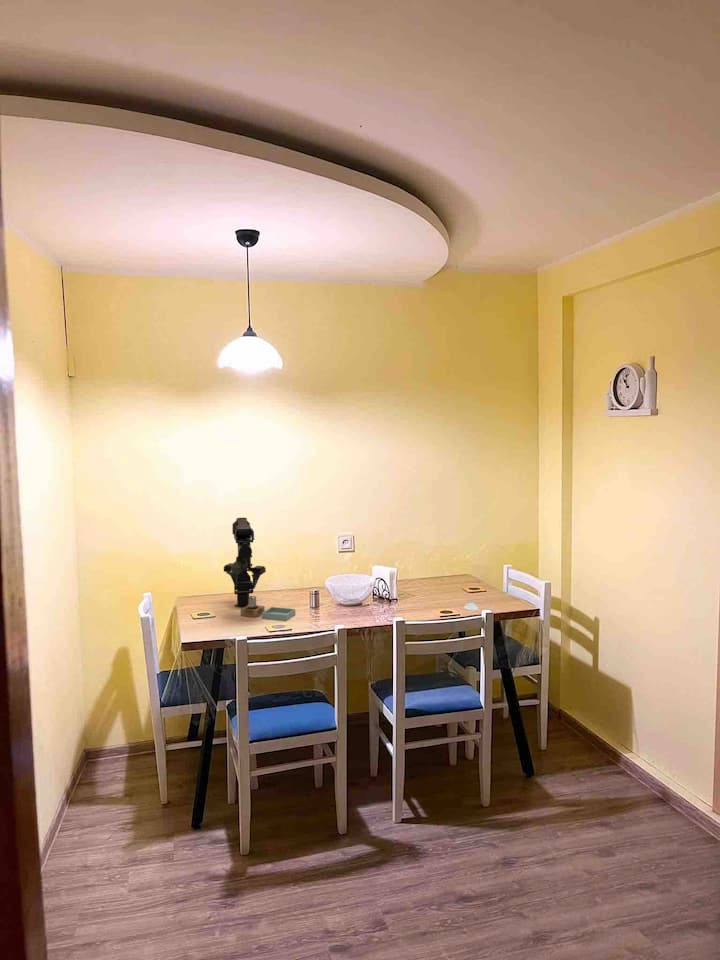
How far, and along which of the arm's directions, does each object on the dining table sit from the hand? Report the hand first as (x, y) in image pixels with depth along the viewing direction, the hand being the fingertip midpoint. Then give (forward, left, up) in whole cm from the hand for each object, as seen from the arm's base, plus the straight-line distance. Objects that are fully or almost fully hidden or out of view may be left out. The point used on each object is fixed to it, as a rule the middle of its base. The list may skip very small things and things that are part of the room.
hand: (244, 587), depth 298 cm
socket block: (-3, +2, -13) cm, 13 cm away
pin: (-3, +2, -13) cm, 13 cm away
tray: (-3, +15, -13) cm, 20 cm away
